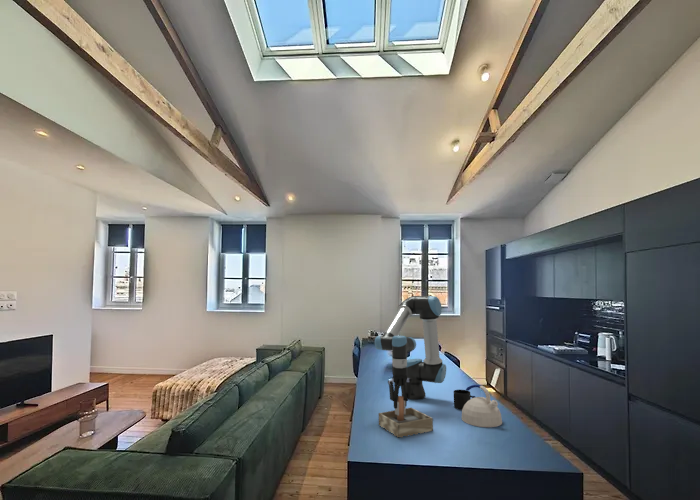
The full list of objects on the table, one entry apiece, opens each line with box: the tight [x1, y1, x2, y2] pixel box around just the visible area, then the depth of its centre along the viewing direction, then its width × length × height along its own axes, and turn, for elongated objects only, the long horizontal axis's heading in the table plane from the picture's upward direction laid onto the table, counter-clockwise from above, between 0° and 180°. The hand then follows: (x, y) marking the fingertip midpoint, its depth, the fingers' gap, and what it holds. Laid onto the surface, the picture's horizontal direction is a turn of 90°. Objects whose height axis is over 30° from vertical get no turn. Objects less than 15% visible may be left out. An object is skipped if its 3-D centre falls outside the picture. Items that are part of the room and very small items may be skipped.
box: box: [378, 407, 434, 438], centre depth 189 cm, size 18×20×6 cm
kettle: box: [461, 384, 503, 428], centre depth 200 cm, size 20×21×18 cm
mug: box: [453, 389, 475, 411], centre depth 221 cm, size 9×12×9 cm
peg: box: [397, 395, 404, 421], centre depth 193 cm, size 3×3×14 cm
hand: (400, 413), depth 193 cm, fingers closed on peg, 3 cm apart
